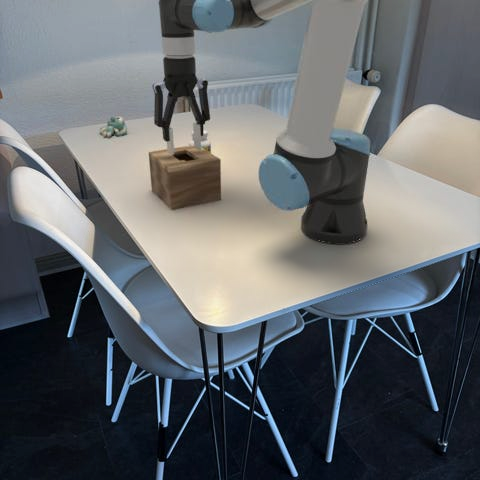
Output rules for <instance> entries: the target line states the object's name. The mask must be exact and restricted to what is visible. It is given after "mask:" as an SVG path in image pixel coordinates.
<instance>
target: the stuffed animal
mask: <svg viewBox="0 0 480 480" xmlns="http://www.w3.org/2000/svg"><path fill="white" fill-rule="evenodd" d="M106 123H107V125H104V126H101V127H100V128H99V132H100V133H101V135H102V136H103V137H109V138H110V137H111V136H112V135H113V134H115V136H119V137H120V136H121V135H122V136H124V135H126V134H127V131H128V128H127V126H126V125H127V124H126V122H125V120H124V118H123V117H122V116H115V115H111V116H110V117H109V119H107V122H106ZM114 132H115V133H114Z"/></svg>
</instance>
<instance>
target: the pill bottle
mask: <svg viewBox="0 0 480 480" xmlns="http://www.w3.org/2000/svg"><path fill="white" fill-rule="evenodd" d="M203 132H204V134H203V136H201V147H202V148H203V149H205V150H207V151H208V152H210V153H211V154H212V146H211V145H212V143H211V141H210V140H209V139H208V131H207V130H204V129H203ZM191 138H192V139H190V140H189V143H188V146H191V145H194V133H193V130H192V131H191Z"/></svg>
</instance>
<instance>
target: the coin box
mask: <svg viewBox="0 0 480 480" xmlns="http://www.w3.org/2000/svg"><path fill="white" fill-rule="evenodd" d="M182 160H185V162H181V161H182ZM148 161H149V173H150V175H149V176H150V186H151V192H152V194H154V195H156V196H157V198H159V199H160V201H161V202H163V203H164V204H165V205H166V206H167V207H168V209H170V210H171V211H172V210H177V209H182V208H187V207H191V206H195V205H202V204H205V203H206V204H207V203H211V202H215V201H219V200H222V178H221V177H222V176H221V175H222V172H221V171H222V170H221V169H222V168H221V164H222V163H221V158H219V157H218V156H216V155H215V154H213V153H212V152H211V153H210V152H208V151H207V150H205V149H203V148H202V147H201V150H197V149H195V148H194V145H191V146H189V145H187V146H179V147H174V155H171V154H170V153H168V152H167V148H166V149H160V150H154V151H148Z"/></svg>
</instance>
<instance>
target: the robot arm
mask: <svg viewBox="0 0 480 480" xmlns="http://www.w3.org/2000/svg"><path fill="white" fill-rule="evenodd" d="M368 1H369V0H158V2H157V3H158V6H159V7H158V8H159V17H160V18H159V20H160V22H159V23H160V30H161V31H160V33H161V45H162V46H161V47H162V54H163V55H164V57H163V59H162V60H163V61H162V63H163V73H164V74H163V75H164V77H163V81H162V82H160V83H153V84H152V90H153V92H154V93H153V94H154V114H153V115H154V117H153V118H154V122H153V123H154V126H156V127H158V128H161V129H162V139H163V141H165V142H166V149H167V152H168V153H170V154H171V155H174V148H175V144H174V131H173V130H174V128H172V127H171V124H172V118H173V115H174V112H175V107H176V103H177V101H178V98H181V97H185V98H186V99H187V103H188V105H189V106H190V110H191V112H192V115H193V117H194V121H195V122H193V123H192V127H193V128H192V129H193V130H192V131H193V133H194V148H195V149H197V150H201V136H203V134H204V132H203V130H204V125H205V124H206V122H207V121H208V122H209V121H210V120H211V113H210V106H209V105H210V104H209V98H208V86H209V82H208V80H206V79H203V78H201V79H199V78H198V77H197V75H196V72H197V69H196V68H197V66H196V57H195V56H193V55H195V54H196V46H195V45H196V43H195V31H197V32H198V31H199V32H200V31H201V32H206V33H209V34H212V33H222V32H225V31H227V30H235V29H250V28H252V29H257V28H258V29H259V28H261V27H265V26H267V25H269V24H270V23H271V22H272V20H273V19H274V18H276V17H277V16H280V15H282V14H285V13H288V12H289V11H293V10H294V9H296V8H299V7H301V6H303V5H305V4H308V3H310V2H311V4H310V8H309V14H308V16H307V18H308V19H307V22H306V28H305V33H304V39H303V44H302V49H301V53H300V59H299V63H298V69H297V73H296V74H297V75H296V77H295V83H294V90H293V95H292V99H291V105H290V109H289V114H288V120H287V125H286V128H285V129H284V130H282V131H281V132H279V133H278V135H277V137H276V140H275V146H274V151H273V153H270V154H268V155H267V156H266V157H265V158H263V159H262V161H261V162H260V164H259V167H258V180H259V185H260V188H261V190H262V191H263V193H264V195H265V197H266V199H267V200H268V201H269V202H270V203H271V204H273V206H275V207H276V208H278V209H280V210H282V211H286V212H287V211H288V212H289V211H290V212H291V211H295V210H298V209H304V208H305V207H306V208H305V210H304V212H303V214H302V216H301V219H300V229H301V232H302V233H303V232H304V233H305V234H304V233H303V234H304V235H305V236H306V237H308V236H309V238H310V237H311V239H312V238H313V239H312V240H314V239H316V240H315V241H317V240H320V241H324V242H323V243H325V242H330V243H329V244H331V243H348V244H350V243H349V242H353V241H357V240H359V239H361V238H363V237H364V236H365V237H366V235H367V232H368V219H367V217H366V216H367V215H366V210H365V205H364V194H365V193H364V192H365V186H366V181H367V174H368V167H369V159H370V156H371V152H370V151H371V150H370V149H371V140H370V138H369V137H368V136H367V135H365V134H363V133H362V132H361V133H360V132H358V131H353V130H349V129H343V128H334V127H335V122H336V119H337V115H338V111H339V107H340V103H341V99H342V96H343V93H344V87H345V83H346V80H347V75H348V72H349V68H350V63H351V60H352V56H353V52H354V47H355V45H356V41H357V36H358V32H359V29H360V25H361V20H362V17H363V12H364V9H365V5H366V3H368ZM196 87H197V89H198V90H197V91H198V97H199V104H200V106H199V105H198V101H197V99H196V95H195V91H194V89H195V88H196ZM165 89H166V90H167V91H168V92H167V93H168V94H167V100H166V105H165V107H164V92H165ZM164 108H165V109H164ZM365 237H364V238H365ZM364 238H363V239H364ZM361 240H362V239H361ZM320 241H319V242H320ZM359 241H360V240H359ZM357 242H358V241H357ZM353 243H354V242H353Z"/></svg>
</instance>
